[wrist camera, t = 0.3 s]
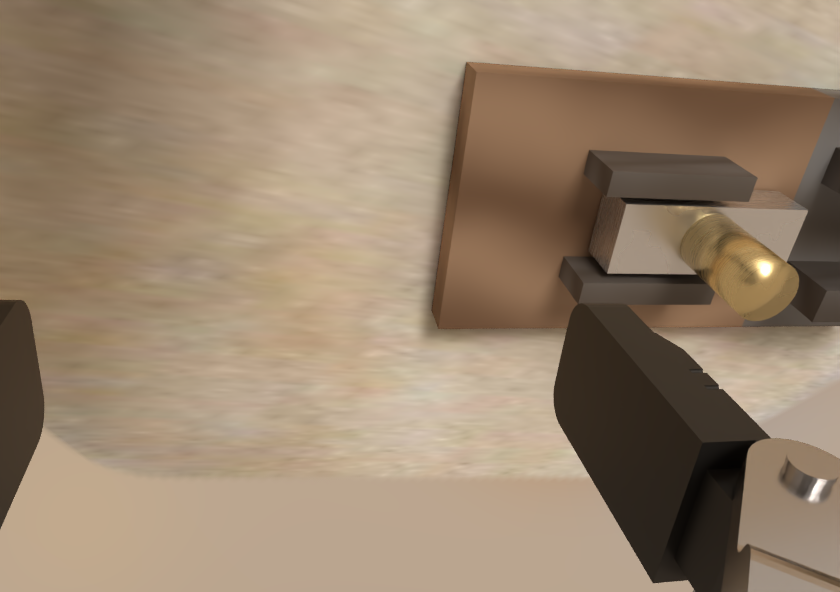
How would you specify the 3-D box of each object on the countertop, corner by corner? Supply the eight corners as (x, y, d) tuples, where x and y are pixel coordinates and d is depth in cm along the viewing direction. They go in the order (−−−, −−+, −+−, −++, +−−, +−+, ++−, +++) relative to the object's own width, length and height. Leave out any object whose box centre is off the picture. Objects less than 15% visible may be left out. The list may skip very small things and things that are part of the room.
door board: (466, 61, 26) (497, 92, 23) (947, 98, 31) (1034, 128, 28) (431, 310, 32) (451, 365, 28) (844, 309, 37) (905, 357, 33)
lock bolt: (605, 184, 28) (677, 253, 23) (778, 190, 30) (880, 256, 25) (588, 250, 30) (652, 328, 25) (753, 253, 32) (845, 327, 27)
